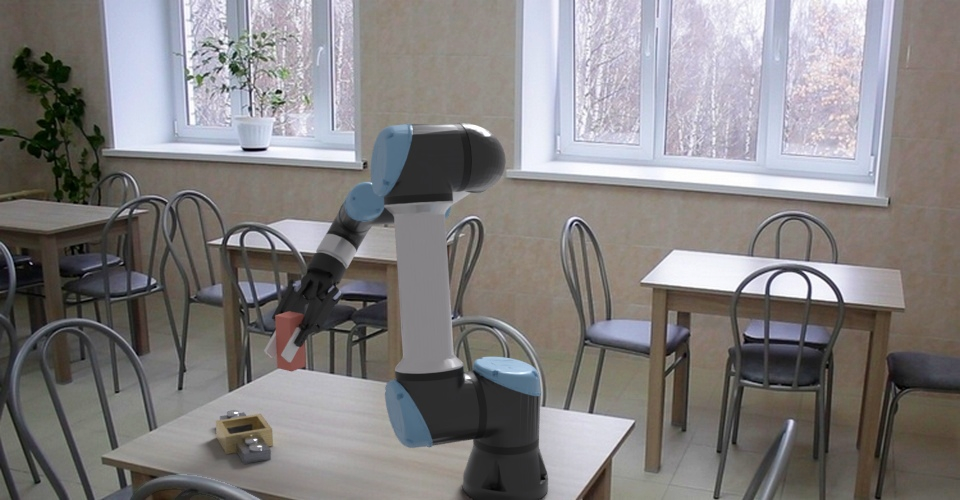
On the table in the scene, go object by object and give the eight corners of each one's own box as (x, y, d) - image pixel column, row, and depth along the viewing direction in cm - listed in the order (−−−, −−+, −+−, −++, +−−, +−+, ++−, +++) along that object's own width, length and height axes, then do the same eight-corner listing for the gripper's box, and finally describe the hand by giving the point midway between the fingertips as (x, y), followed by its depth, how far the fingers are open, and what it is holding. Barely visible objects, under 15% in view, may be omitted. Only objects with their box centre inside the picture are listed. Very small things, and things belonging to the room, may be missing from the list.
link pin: (305, 366, 200) (303, 314, 197) (291, 371, 196) (289, 318, 194) (291, 362, 202) (289, 311, 200) (277, 368, 199) (275, 315, 196)
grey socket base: (281, 457, 186) (280, 440, 185) (233, 466, 182) (233, 448, 181) (253, 419, 205) (253, 403, 204) (210, 426, 201) (209, 410, 200)
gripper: (370, 276, 204) (318, 373, 193) (310, 266, 213) (257, 358, 203) (353, 255, 198) (298, 354, 188) (291, 246, 207) (236, 340, 197)
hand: (277, 356), depth 195 cm, fingers closed on link pin, 4 cm apart
